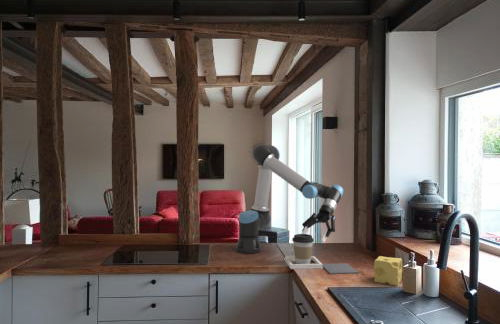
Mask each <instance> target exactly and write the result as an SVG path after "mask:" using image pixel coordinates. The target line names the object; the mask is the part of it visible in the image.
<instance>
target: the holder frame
mask: <svg viewBox="0 0 500 324" xmlns="http://www.w3.org/2000/svg"><path fill="white" fill-rule="evenodd" d="M284 261H285V264H287V266H288V267H289V269H290V270H299V269H300V270H303V269H324V268H323V264H324V263H322V262H321V261H320V260H319V259H318V258H317V257H316V256H315V255H311V261H313V262H314V263H310V264H296V263H292V262H296V261H295V256H284Z"/></svg>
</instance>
